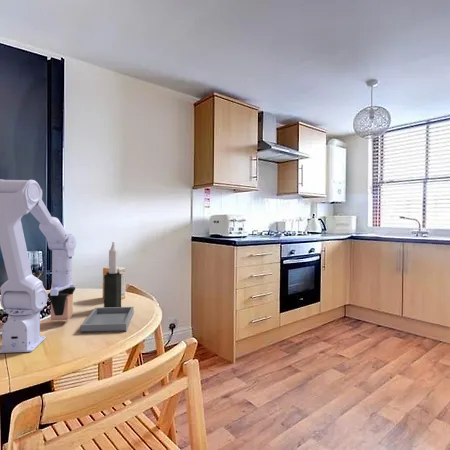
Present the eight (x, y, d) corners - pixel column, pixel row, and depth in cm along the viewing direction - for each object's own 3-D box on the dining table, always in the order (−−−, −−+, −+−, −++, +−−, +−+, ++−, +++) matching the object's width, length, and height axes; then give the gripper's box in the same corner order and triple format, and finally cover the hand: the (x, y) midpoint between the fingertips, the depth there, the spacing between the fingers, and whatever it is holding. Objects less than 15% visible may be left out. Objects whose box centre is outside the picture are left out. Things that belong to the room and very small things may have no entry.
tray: (126, 331, 98) (126, 323, 98) (80, 333, 96) (80, 325, 96) (133, 313, 116) (133, 306, 116) (95, 314, 114) (95, 307, 114)
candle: (115, 310, 118) (115, 242, 118) (102, 309, 119) (103, 242, 119) (122, 306, 123) (123, 241, 123) (110, 305, 124) (110, 241, 124)
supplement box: (101, 299, 134) (102, 267, 133) (109, 296, 138) (109, 265, 138) (119, 301, 131) (119, 269, 131) (125, 298, 136) (126, 267, 136)
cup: (67, 320, 102) (67, 298, 102) (50, 320, 102) (50, 298, 101) (72, 315, 107) (72, 294, 107) (56, 315, 107) (56, 294, 106)
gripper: (68, 274, 97) (67, 319, 98) (81, 266, 112) (81, 305, 112) (42, 274, 96) (42, 319, 97) (59, 266, 111) (59, 306, 111)
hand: (61, 312), depth 104 cm, fingers closed on cup, 5 cm apart
